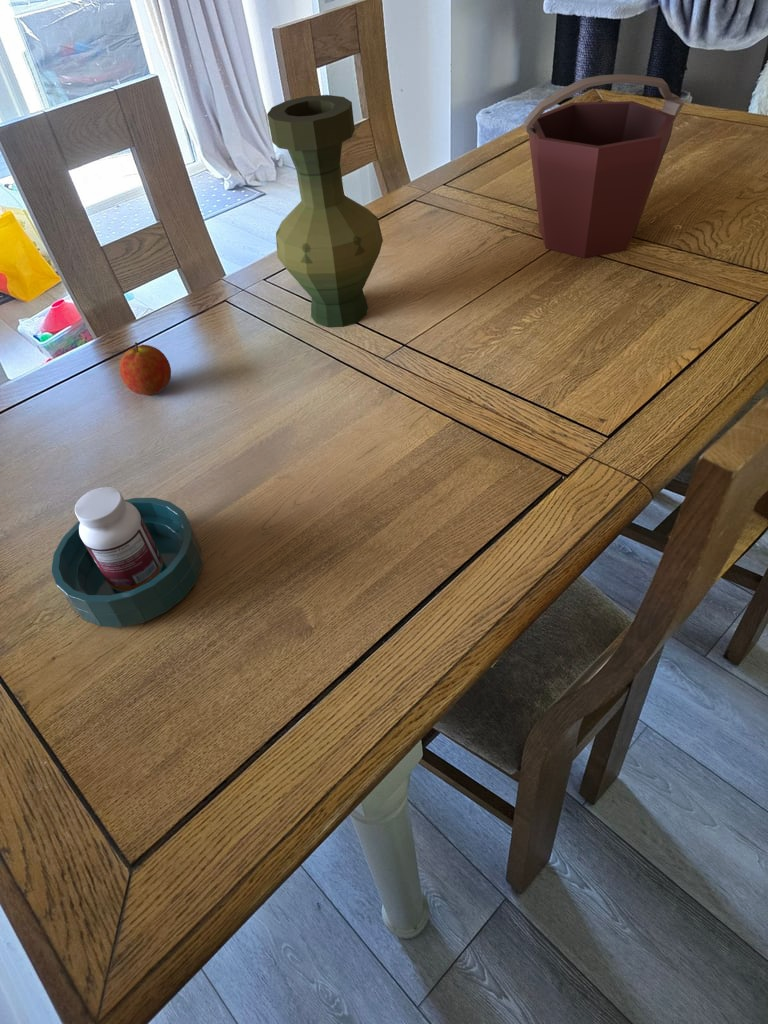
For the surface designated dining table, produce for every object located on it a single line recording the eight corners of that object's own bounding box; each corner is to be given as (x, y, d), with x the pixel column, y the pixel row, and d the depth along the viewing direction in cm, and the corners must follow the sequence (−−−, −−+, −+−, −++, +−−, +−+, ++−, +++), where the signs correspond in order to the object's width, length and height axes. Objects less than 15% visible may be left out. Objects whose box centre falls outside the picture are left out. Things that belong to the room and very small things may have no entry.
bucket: (658, 211, 129) (688, 54, 111) (662, 268, 114) (698, 97, 96) (524, 210, 134) (532, 60, 116) (512, 264, 120) (519, 102, 102)
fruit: (165, 406, 99) (146, 358, 94) (121, 403, 101) (100, 356, 95) (184, 378, 104) (167, 330, 98) (142, 375, 105) (123, 329, 100)
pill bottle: (117, 552, 79) (78, 482, 71) (170, 550, 79) (136, 478, 71) (101, 596, 75) (57, 526, 67) (156, 593, 74) (119, 523, 66)
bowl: (152, 647, 70) (135, 618, 67) (43, 609, 75) (21, 580, 71) (228, 544, 79) (216, 513, 76) (126, 516, 84) (111, 486, 80)
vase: (327, 350, 106) (291, 138, 84) (271, 314, 115) (226, 114, 94) (409, 309, 112) (395, 102, 91) (350, 277, 121) (324, 82, 100)
